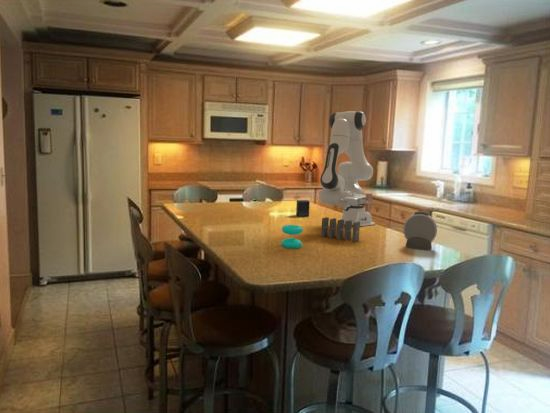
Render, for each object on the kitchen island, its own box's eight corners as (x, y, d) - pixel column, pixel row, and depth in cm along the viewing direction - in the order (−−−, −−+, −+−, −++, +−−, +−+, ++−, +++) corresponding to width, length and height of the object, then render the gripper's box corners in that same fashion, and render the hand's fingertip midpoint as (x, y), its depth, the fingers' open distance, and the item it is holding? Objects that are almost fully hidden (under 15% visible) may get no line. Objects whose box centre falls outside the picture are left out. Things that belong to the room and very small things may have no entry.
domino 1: (321, 236, 257) (322, 218, 256) (325, 235, 262) (326, 217, 260) (323, 237, 257) (324, 218, 255) (327, 235, 261) (328, 217, 259)
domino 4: (344, 240, 250) (345, 221, 249) (347, 238, 255) (349, 220, 253) (347, 240, 250) (348, 221, 248) (350, 239, 254) (352, 220, 252)
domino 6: (364, 211, 260) (366, 193, 259) (368, 210, 264) (369, 192, 263) (367, 211, 259) (368, 193, 258) (371, 210, 263) (372, 192, 262)
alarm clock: (435, 247, 243) (438, 211, 240) (435, 251, 233) (438, 214, 231) (402, 243, 248) (405, 209, 246) (401, 247, 239) (404, 211, 236)
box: (306, 215, 329) (307, 200, 327) (309, 216, 323) (309, 201, 322) (295, 215, 327) (296, 199, 326) (297, 216, 322) (298, 201, 320)
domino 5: (352, 241, 248) (353, 222, 247) (355, 240, 252) (357, 221, 251) (355, 241, 247) (356, 222, 246) (358, 240, 251) (360, 221, 250)
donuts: (284, 223, 234) (304, 225, 232) (283, 243, 236) (303, 245, 234) (280, 227, 224) (301, 228, 223) (279, 248, 226) (300, 249, 224)
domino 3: (336, 239, 253) (337, 220, 251) (340, 237, 257) (341, 219, 256) (339, 239, 252) (340, 220, 251) (343, 238, 256) (344, 219, 255)
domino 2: (328, 237, 255) (329, 219, 254) (332, 236, 259) (333, 218, 258) (331, 238, 254) (332, 219, 253) (335, 236, 258) (336, 218, 257)
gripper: (339, 194, 258) (363, 197, 251) (353, 191, 276) (376, 194, 269) (338, 206, 259) (362, 209, 252) (353, 202, 277) (376, 205, 269)
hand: (370, 201), depth 260 cm, fingers closed on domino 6, 5 cm apart
